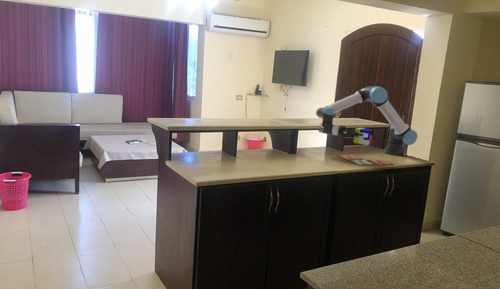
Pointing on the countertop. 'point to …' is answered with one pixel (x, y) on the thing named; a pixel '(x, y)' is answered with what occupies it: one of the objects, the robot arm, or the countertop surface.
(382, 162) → the board
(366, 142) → the puzzle toy
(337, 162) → the countertop surface
